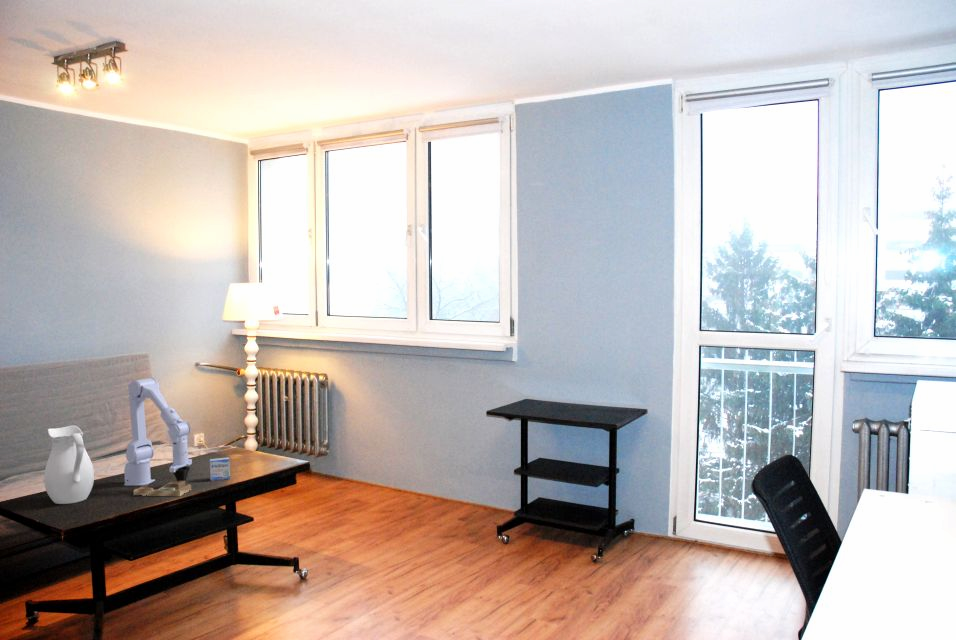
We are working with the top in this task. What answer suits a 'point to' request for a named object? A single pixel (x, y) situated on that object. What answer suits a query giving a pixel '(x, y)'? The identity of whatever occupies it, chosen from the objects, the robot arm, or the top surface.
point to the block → (176, 484)
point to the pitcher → (68, 467)
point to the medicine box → (219, 468)
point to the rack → (161, 491)
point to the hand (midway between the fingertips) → (181, 485)
